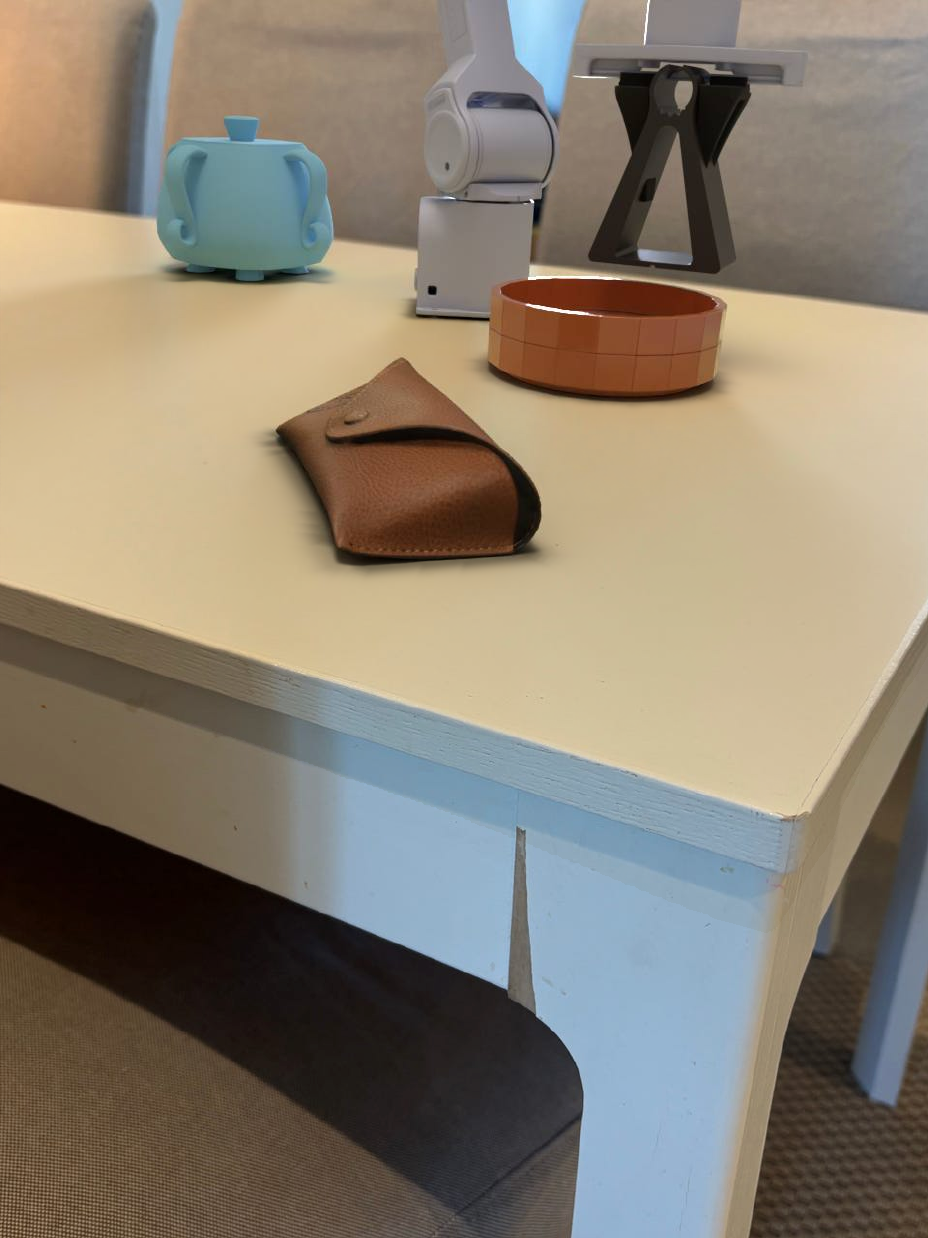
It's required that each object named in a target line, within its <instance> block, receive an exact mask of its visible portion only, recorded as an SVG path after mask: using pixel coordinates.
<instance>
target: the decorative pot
mask: <svg viewBox="0 0 928 1238" xmlns="http://www.w3.org/2000/svg"><path fill="white" fill-rule="evenodd" d="M222 120H223V124H224V127H225V130H226V133H227V135H228V137H223V136H221V137H217V136H215V137H214V136H212V137H211V136H209V137H202V136H201V137H200V136H199V137H180V139H179V140H177V141H176V142H175V143H173V144H172V145H171V146H170V147H169V149H168V151H166V156H165V163H164V176H163V179H162V182H161V185H160V190H159V195H158V201H157V208H156V209H157V210H156V233H157V236H158V239H159V240H160V242H161V244H162V246H163V247H164V248H165V251H166V252H167V253H168V254H169V256H170V257H171V258H172V259H173V260H176V261H179V262H183V263H186V264H188V266H187V267H186V269H185V271H186V272H190V273H211V272H214V271H215V269H216V268H220V269H230V270H235V280H239V281H245V282H247V281H248V282H250V281H251V282H254V281H256V282H258V281H263V280H265V276H264V271H274V270H280V271H281V272H282V273H285V274H296V275H297V274H307V273H309V270H308V268H307V266H312V265H313V266H314V265H317V264H320V263H321V262H322V261H323V260H324V258H325V257H326V255H327V253H328V251H329V250H330V248H331V247H332V244H333V242H334V224H333V215H332V211H331V205H330V200H329V198H328V195H327V192H328V173H327V169H326V166H325V164H324V163H323V161H322V159H320V157H319V156H317V155H316V154H315V153H313V152H312V151H309V150H308V148H307V146H306V145H304V143H303V142H297V141H296V142H295V141H289V140H288V141H287V140H278V139H264V138H256V136H257V132H258V130H259V125H260V119H259V118H257V117H254V116H246V115H245V116H244V115H229V116H224V117H223V118H222Z"/></svg>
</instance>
